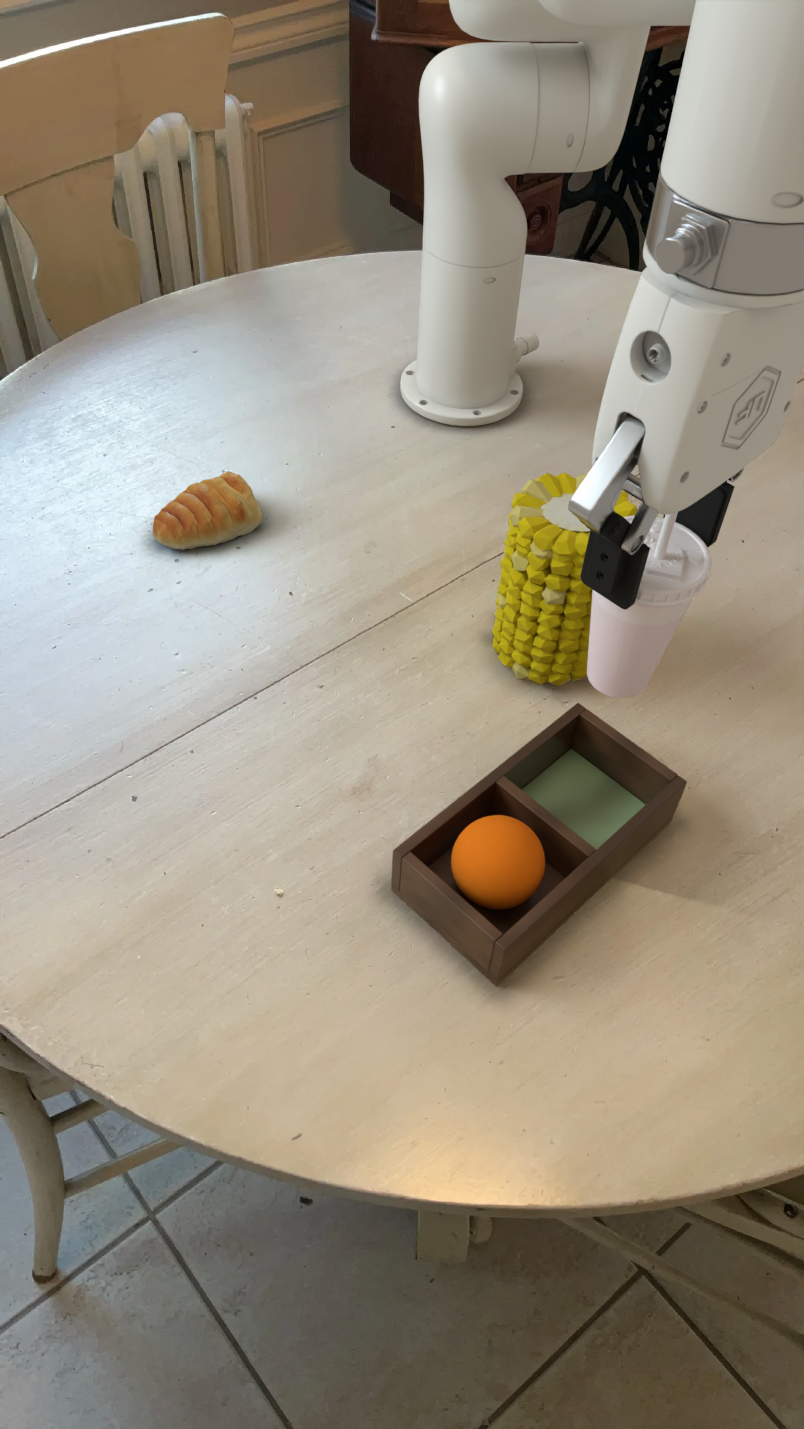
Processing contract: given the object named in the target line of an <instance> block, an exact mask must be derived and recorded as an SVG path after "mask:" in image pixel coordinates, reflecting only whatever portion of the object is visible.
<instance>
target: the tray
mask: <svg viewBox="0 0 804 1429" xmlns="http://www.w3.org/2000/svg"><path fill="white" fill-rule="evenodd" d="M687 784H688V781H687V780H686V779H685V778H683V777H682V776H680V775H679V774H678V773H677V772H675V771H673V769H671V768H669V766H667V765H666V764H664V763H663V762H661V761H660V760H659V759H658V758H656V757H654V756H653V755H652V754H650V753H649V752H648V751H646V750H645V749H643V748H642V747H641V746H639V745H638V744H636V743H635V742H634V741H632V740H630V739H629V738H628V737H627V736H626V735H624V734H623V733H621V732H620V731H619V730H617V729H615V727H613V726H611V725H610V724H608V722H606V721H604V720H603V719H602V718H601V717H599V716H598V715H596V714H595V713H594V712H592V711H590V709H588V708H586V707H585V706H584V705H582V704H581V703H579V702H577V703H576V704H574V705H573V706H572V707H571V708H569V709H568V710H567V711H565V712H564V713H563V714H562V715H561V716H560V717H558V718H556V720H554V721H553V722H552V723H550V725H548V726H546V728H545V729H543V730H542V731H541V732H539V733H538V734H537V735H535V736H534V737H533V738H532V739H531V740H529V741H528V742H527V743H525V744H524V745H522V746H521V748H519V749H518V750H517V751H516V752H514V753H513V754H512V755H510V756H508V758H507V759H506V760H504V761H503V762H502V763H500V764H499V765H498V766H497V767H495V768H494V769H492V771H490V772H489V773H488V774H486V776H484V777H483V778H481V779H480V780H479V781H478V782H477V783H476V784H474V785H473V786H472V787H470V788H469V789H468V790H467V791H466V792H464V793H463V794H461V795H460V796H459V797H457V799H455V800H454V801H453V802H451V803H450V804H449V805H448V806H447V807H445V808H444V809H443V810H442V811H440V812H439V813H438V814H437V815H435V816H434V817H433V818H432V819H430V820H429V821H428V822H427V823H425V824H424V825H423V826H421V828H419V829H417V830H416V831H415V832H414V833H413V834H411V836H410V835H409V837H408V838H407V839H405V840H404V841H402V843H400V844H399V845H398V846H396V847H395V848H394V849H392V859H391V861H392V862H391V879H390V880H391V882H390V883H391V884H390V890H391V891H392V892H393V893H394V894H395V895H396V896H398V898H399V899H400V900H402V901H403V902H404V903H405V904H406V905H407V906H408V908H410V909H411V910H412V911H414V912H415V913H416V914H417V915H418V916H419V917H420V918H421V919H422V920H424V921H425V923H427V924H428V925H429V926H430V927H431V928H432V929H433V930H434V931H435V932H437V933H438V934H439V935H440V936H441V937H442V938H443V939H444V940H445V941H446V942H447V943H448V944H449V945H451V947H452V948H454V950H456V951H457V952H458V953H459V954H460V955H461V956H463V958H464V959H465V960H467V962H469V963H470V964H471V965H472V966H474V968H476V969H477V970H478V971H479V972H480V973H481V974H482V975H483V976H484V977H485V978H486V979H487V980H489V981H490V982H491V983H492V984H493V985H494V986H495V987H498V986H499V985H500V984H501V983H502V982H503V981H505V979H506V978H508V977H509V976H510V975H511V974H512V973H513V972H514V971H515V970H516V969H517V968H518V967H519V966H521V965H522V964H523V962H524V961H526V960H527V959H528V958H529V957H530V956H531V955H532V954H533V953H534V952H535V951H536V950H537V949H538V948H539V947H541V946H542V945H543V944H544V943H545V942H546V941H547V940H548V939H549V938H550V937H551V936H552V935H554V933H555V932H556V931H557V930H558V929H559V928H561V926H563V925H564V924H565V923H566V922H568V920H569V919H570V918H571V917H572V916H573V915H575V913H576V912H578V911H579V909H581V908H582V907H583V906H584V905H585V904H586V903H587V902H588V901H589V900H590V899H591V898H592V897H593V896H595V894H597V893H598V892H599V891H601V889H602V888H603V887H604V886H605V885H606V884H608V882H609V881H611V879H612V878H614V877H615V875H617V874H618V873H619V872H620V871H621V870H622V869H623V868H624V867H626V866H627V864H628V863H629V862H630V861H632V860H633V859H634V858H635V857H637V855H638V854H639V853H640V852H641V851H642V850H644V849H645V847H647V846H648V845H649V844H650V843H651V842H652V841H653V840H654V839H655V838H656V837H657V836H658V835H659V834H660V833H661V832H662V831H663V830H664V829H665V828H667V827H668V825H670V824H671V823H672V822H673V818H674V816H675V813H676V811H677V809H678V807H679V805H680V804H679V803H680V801H681V799H682V797H683V794H684V791H685V789H686V786H687ZM492 815H504V816H509V817H512V818H515V819H517V820H519V821H521V822H523V823H524V824H526V825H527V826H528V827H529V828H530V829H532V831H533V832H534V833H535V834H536V836H537V837H538V839H539V840H540V843H541V845H542V847H543V851H544V856H545V870H544V875H543V879H542V881H541V883H540V885H539V887H538V889H537V890H536V891H535V893H534V894H533V895H532V896H531V897H530V898H529V899H528V900H526V901H525V902H524V903H522V904H520V905H518V906H516V907H513V908H509V909H503V910H494V909H488V908H485V907H481V906H479V905H477V904H475V903H474V902H472V901H471V900H470V899H468V898H467V897H466V896H465V895H464V894H463V893H462V892H461V890H460V889H459V887H458V886H457V884H456V882H455V879H454V877H453V873H452V868H451V855H452V851H453V847H454V844H455V842H456V840H457V838H458V837H459V835H460V834H461V832H462V831H463V830H464V829H465V828H466V827H467V826H468V825H470V824H471V823H472V822H474V821H476V820H478V819H480V818H483V817H486V816H492Z"/></svg>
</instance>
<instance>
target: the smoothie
mask: <svg viewBox="0 0 804 1429" xmlns="http://www.w3.org/2000/svg"><path fill="white" fill-rule="evenodd" d="M677 513H678V512H676V513H673V514H668V515H665V518H663V517H662V516H657V517H656V519H655V521H654V523H653V525H652V527H651V529H650V531H649V533H648V535H647V537H646V539H645V541H644V544H646V545H647V546H648V547H649V548H650V551H649V554H648V558H647V561H646V565H645V568H644V572H643V576H642V579H641V583H640V586H639V590H638V593H637V597H636V601H635V603H634V604H633V605H632V606H631V607H629V608H628V609H626V610H625V609H622V608H620V607H619V606H617V605H616V604H614V603H612V602H611V601H609V600H608V599H606V598H605V597H603V596H602V595H600V594H599V593H597V592H596V591H594V590H593V591H592V605H591V620H590V634H589V648H588V662H587V677H586V678H587V679H588V681H589V683H590V684H591V686H593V688H594V689H596V690H597V691H598V692H599V693H601V694H603V695H604V696H607V697H611V698H616V699H629V698H634V697H637V696H638V695H640V694H642V693H643V692H644V691H645V690H646V688H647V687H648V685H649V682H650V681H651V679H652V677H653V675H654V674H655V671H656V670H657V667H658V665H659V664H660V662H661V660H662V658H663V656H664V654H665V652H666V651H667V648H668V646H669V644H670V643H671V641H672V639H673V637H674V635H675V633H676V631H677V629H678V628H679V626H680V624H681V622H682V620H683V618H684V617H685V614H686V612H687V611H688V609H689V607H690V606H691V603H692V601H693V599H694V598H696V597H698V595H699V594H701V592H702V591H703V590H705V588H706V586H707V583H708V581H709V578H710V575H709V574H710V573H711V568H712V562H713V561H712V560H713V559H712V555H711V552H710V550H709V547H707V546H706V544H705V543H704V542H703V540H702V539H701V538H700V537H699V536H698V535H696V534H695V533H694V532H693V531H692V530H690V529H688V528H687V527H685V526H683V525H681V524H679V523H677V522H675V520H676V517H677ZM634 517H635V516H627V517H624V518H625V519H626V520H627V521H628V522H629V523H632V521H633V519H634Z"/></svg>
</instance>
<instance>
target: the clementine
mask: <svg viewBox="0 0 804 1429" xmlns="http://www.w3.org/2000/svg"><path fill="white" fill-rule="evenodd" d="M451 868H452V873H453V877H454V879H455V882H456V884H457V886H458V887H459V889H460V890H461V892H462V893H463V894H464V895H465V896H466V897H467V898H468V899H470V900H471V901H472V902H474V903H475V904H477V905H479V906H481V907H485V908H488V909H494V910H503V909H509V908H513V907H516V906H518V905H520V904H522V903H524V902H525V901H526V900H528V899H529V898H530V897H531V896H532V895H533V894H534V893H535V891H536V890H537V889H538V887H539V885H540V883H541V881H542V879H543V875H544V870H545V856H544V851H543V847H542V845H541V843H540V840H539V839H538V837H537V836H536V834H535V833H534V832H533V831H532V829H530V828H529V827H528V826H527V825H526V824H524V823H523V822H521V821H519V820H517V819H515V818H512V817H509V816H504V815H492V816H486V817H483V818H480V819H478V820H476V821H474V822H472V823H471V824H470V825H468V826H467V827H466V828H465V829H464V830H463V831H462V832H461V834H460V835H459V837H458V838H457V840H456V842H455V844H454V847H453V851H452V855H451Z"/></svg>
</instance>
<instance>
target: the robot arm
mask: <svg viewBox="0 0 804 1429" xmlns="http://www.w3.org/2000/svg"><path fill="white" fill-rule="evenodd" d="M448 4H449V10H450V12H451V16H452V18H453V21H454V22H455V24H456V25H457V26H458V27H459V29H460V30H461V31H462V32H464V33H466V34H467V35H469V36H472V37H474V38H477V39H481V40H487V41H493V42H470V43H464V44H459V45H455V46H452V47H449V48H446V49H444V50H442V51H441V52H439V53H437V54H436V55H435V56H434V57H433V58H431V60H430V61H429V62H428V64H427V65H426V66H425V69H424V71H423V73H422V76H421V79H420V82H419V83H420V84H419V91H418V119H419V128H420V138H421V139H420V141H421V151H422V160H423V161H422V164H423V192H424V193H423V198H424V199H423V223H422V224H423V226H422V246H421V247H422V248H421V252H422V253H421V267H420V268H421V270H420V288H419V291H420V292H419V305H418V306H419V307H418V308H419V310H418V325H417V326H418V328H417V346H416V347H417V348H416V349H417V350H416V359H415V360H413V361H411V362H410V363H409V364H408V365H407V366H406V367H405V368H404V370H403V371H402V373H401V377H400V384H399V391H400V395H401V397H402V399H403V401H404V403H405V404H406V406H408V407H409V408H410V410H412V411H413V412H415V413H417V414H418V415H420V416H422V417H423V418H426V419H428V420H430V421H434V422H437V423H439V424H444V425H448V426H458V427H477V426H483V425H488V424H492V423H495V422H499V421H500V420H503V419H505V418H507V417H508V416H510V415H511V414H512V413H514V412H515V411H516V410H517V409H518V407H519V406H520V404H521V402H522V399H523V394H524V386H523V384H524V383H523V381H522V379H521V376H520V375H519V374H518V372H517V371H516V364H518V363H519V362H520V361H521V358H522V357H524V356H527V355H528V354H531V353H533V352H534V351H537V350H538V349H539V347H540V339H539V337H538V335H537V333H535V332H534V331H528V332H526V333H524V334H522V335H520V336H518V337H517V338H515V336H516V329H517V328H516V326H517V321H518V320H517V319H518V311H519V303H520V295H521V288H522V280H523V271H524V265H525V256H526V249H527V248H526V247H527V246H526V245H527V239H528V222H527V217H526V213H525V210H524V208H523V206H522V203H521V201H520V200H519V198H518V196H517V195H516V193H515V192H514V191H513V189H512V188H511V186H510V185H509V184H508V182H507V181H506V180H505V179H506V178H507V177H509V176H515V175H516V176H517V175H525V174H557V173H558V174H561V173H565V174H568V173H569V174H570V173H571V174H572V173H586V172H592V171H597V170H599V169H601V168H603V167H605V166H606V165H607V164H609V162H611V161H612V160H613V158H614V156H615V155H616V153H617V152H618V150H619V147H620V145H621V142H622V140H623V137H624V133H625V130H626V127H627V122H628V118H629V115H630V111H631V107H632V103H633V99H634V94H635V91H636V87H637V83H638V79H639V75H640V70H641V67H642V62H643V58H644V55H645V54H644V53H645V50H646V47H647V43H648V38H649V35H650V30H651V27H659V26H660V27H667V26H668V27H671V26H672V27H673V26H674V27H676V26H677V27H683V26H684V27H689V32H688V37H687V41H686V47H685V50H684V55H683V60H682V63H681V64H682V66H681V69H680V74H679V78H678V83H677V87H676V93H675V97H674V102H673V107H672V112H671V116H670V121H669V126H668V130H667V135H666V139H665V144H664V149H663V153H662V157H661V163H660V169H659V173H658V177H657V182H656V187H655V191H654V196H653V201H652V206H651V209H650V214H649V220H648V224H647V228H646V233H645V239H644V242H643V243H644V244H643V248H642V259H643V261H644V264H645V266H646V267H645V268H644V269H643V270H642V271H641V274H640V277H639V279H638V281H637V285H636V288H635V291H634V293H633V296H632V297H631V301H630V304H629V307H628V310H627V313H626V316H625V319H624V322H623V325H622V329H621V330H620V335H619V338H618V341H617V345H616V347H615V351H614V354H613V358H612V361H611V365H610V368H609V372H608V375H607V379H606V382H605V383H606V384H605V387H604V391H603V395H602V399H601V403H600V407H599V412H598V416H597V421H596V424H595V425H596V426H595V432H594V436H593V444H592V450H591V466H592V467H591V469H589V471H588V472H587V473H586V474H587V475H586V477H585V478H584V480H583V481H582V483H581V484H580V486H579V487H578V489H577V490H576V492H575V493H574V495H573V496H572V498H571V500H570V501H569V504H568V510H569V511H570V512H571V513H572V514H573V515H575V516H576V517H577V518H578V519H579V520H580V522H581V523H583V524H584V525H585V526H586V527H587V528H588V529H590V534H589V539H588V543H587V548H586V552H585V557H584V562H583V566H582V571H581V575H580V577H581V580H582V582H583V583H584V584H585V585H586V586H588V587H590V588H591V589H593V590H594V591H596V592H597V593H599V594H600V595H602V596H603V597H605V598H606V599H608V600H609V601H611V602H612V603H614V604H616V605H617V606H619V607H620V608H622V609H625V610H626V609H628V608H629V607H631V606H632V605H633V604H634V603H635V601H636V597H637V593H638V590H639V586H640V583H641V579H642V576H643V572H644V568H645V565H646V561H647V558H648V554H649V551H650V548H649V547H648V546H647V545H646V544H644V541H645V539H646V537H647V535H648V533H649V531H650V529H651V527H652V525H653V523H654V521H655V519H656V517H658V515H659V514H660V515H662V516H663V517H662V518H665V515H668V514H673V513H676V512H678V513H677V517H676V520H675V522H677V523H679V524H681V525H683V526H685V527H687V528H688V529H690V530H692V531H693V532H694V533H695V534H696V535H698V536H699V537H700V538H701V539H702V540H703V542H704V543H705V544H706V546H707V547H708V548H709V547H711V546H713V545H714V544H715V543H716V542H717V540H718V537H719V535H720V531H721V528H722V525H723V523H724V519H725V516H726V513H727V510H728V507H729V504H730V502H731V499H732V497H733V493H734V490H735V485H734V484H731V483H735V482H736V481H737V480H738V479H739V478H740V477H741V476H742V474H743V472H744V470H745V468H746V467H747V466H748V465H750V464H751V463H753V462H755V460H756V459H758V458H759V457H760V456H762V455H763V454H764V453H765V452H767V451H768V450H769V449H770V448H771V447H772V446H773V445H774V443H775V442H776V440H777V439H778V438H779V437H780V435H781V433H782V430H783V427H784V424H785V421H786V418H787V417H788V416H787V415H788V413H789V409H790V406H791V403H792V400H793V398H794V394H795V391H796V387H797V384H798V382H799V378H800V374H801V371H802V368H803V366H804V0H448ZM494 41H495V42H494ZM496 41H497V42H496ZM498 41H499V42H498ZM531 42H532V43H531ZM533 42H535V43H533ZM538 42H539V43H538ZM541 42H542V43H541ZM636 466H637V467H638V475H639V476H636V475H634V474H633V473H632V472H633V471H634V469H635V468H636ZM730 482H731V483H730ZM622 491H625V492H627V494H628V495H630V496H632V497H633V498H635V499H636V500H639V501H640V505H639V507H638V508H637V509H638V510H637V512H636V515H635V517H634V519H633V521H632V523H629V522H628V521H627V520H626V519H625V518H624V517H622V516H621V515H619V514H618V513H616V512H615V511H614V506H615V504H616V502H617V500H618V498H619V496H620V494H621V492H622Z"/></svg>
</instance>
